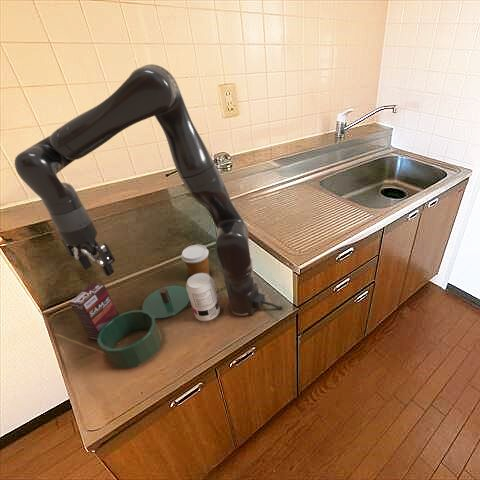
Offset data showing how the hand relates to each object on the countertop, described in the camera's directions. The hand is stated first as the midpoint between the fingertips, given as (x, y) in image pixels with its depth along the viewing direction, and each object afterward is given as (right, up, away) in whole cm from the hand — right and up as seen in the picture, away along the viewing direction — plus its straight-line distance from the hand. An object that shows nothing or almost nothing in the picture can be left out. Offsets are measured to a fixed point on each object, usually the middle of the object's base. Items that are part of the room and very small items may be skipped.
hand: (99, 271), depth 91 cm
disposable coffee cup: (+17, -5, +32) cm, 37 cm away
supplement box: (-5, -20, +10) cm, 23 cm away
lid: (+10, -13, +20) cm, 26 cm away
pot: (+8, -24, +5) cm, 25 cm away
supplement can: (+26, -16, +16) cm, 34 cm away
